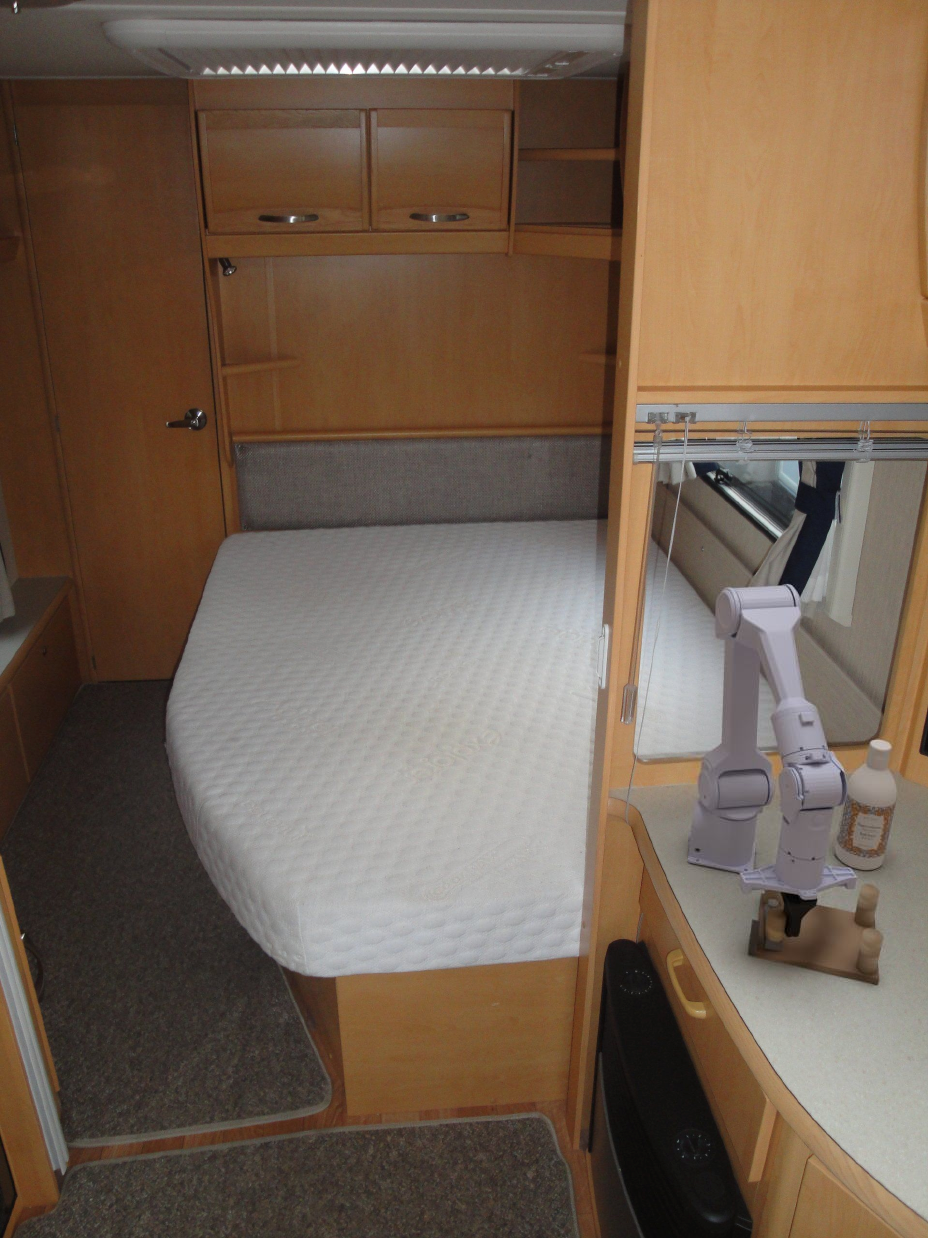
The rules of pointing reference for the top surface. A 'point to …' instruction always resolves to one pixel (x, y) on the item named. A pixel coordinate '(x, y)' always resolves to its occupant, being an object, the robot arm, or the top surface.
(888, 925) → the top surface
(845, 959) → the stool board
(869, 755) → the bath foam
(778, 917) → the grey bar with knob
